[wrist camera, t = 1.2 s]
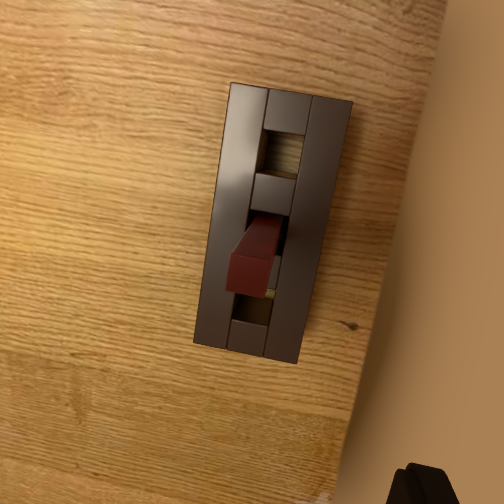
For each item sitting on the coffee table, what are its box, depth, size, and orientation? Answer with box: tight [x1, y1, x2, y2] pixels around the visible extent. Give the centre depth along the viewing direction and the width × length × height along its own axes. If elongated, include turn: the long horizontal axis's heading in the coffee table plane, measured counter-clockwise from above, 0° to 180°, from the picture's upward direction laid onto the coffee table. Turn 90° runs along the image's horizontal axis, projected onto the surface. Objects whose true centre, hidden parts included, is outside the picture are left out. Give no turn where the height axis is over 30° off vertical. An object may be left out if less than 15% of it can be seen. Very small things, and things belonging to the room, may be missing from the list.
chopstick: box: [225, 211, 284, 298], centre depth 23 cm, size 2×2×14 cm
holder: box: [193, 82, 353, 364], centre depth 28 cm, size 7×16×5 cm, turn 170°
